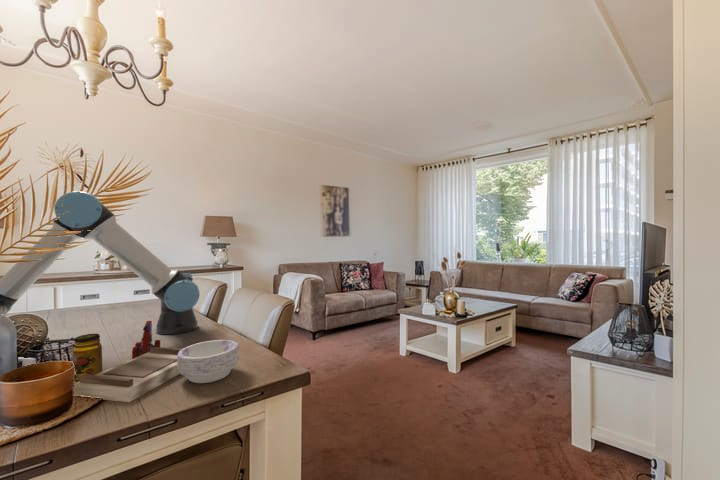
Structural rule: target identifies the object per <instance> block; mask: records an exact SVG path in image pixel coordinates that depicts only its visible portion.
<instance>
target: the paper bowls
mask: <svg viewBox="0 0 720 480" xmlns="http://www.w3.org/2000/svg"><path fill="white" fill-rule="evenodd" d="M239 348H240V347H239V344H238V342H236V341H234V340H229V339H214V340H207V341H201V342H198V343H194V344H191V345H188V346H186V347H184V348H183V347H182V348H181V349H182V350H180V351H179V352H178V354H177V362H178V372H179V373H180V374H179V375H182V376H183V377H186V378H187V380H188V381H190V382H191V383H194V384H208V383H213V382H217V381H220V380H223V379H224V378H226V377H227V376H229V374H230V373H231V371H232V368H234V367H235V366H237V364H239V361H240V356H239V355H240V353H239V350H240V349H239Z"/></svg>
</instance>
